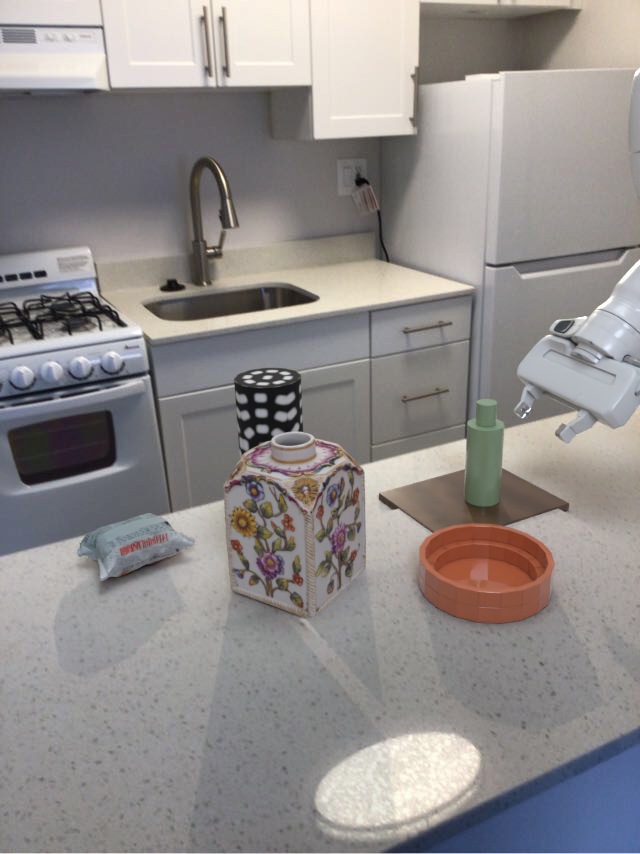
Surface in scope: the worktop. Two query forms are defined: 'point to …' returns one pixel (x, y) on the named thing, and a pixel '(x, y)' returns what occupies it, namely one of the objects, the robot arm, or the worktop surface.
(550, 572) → the bowl
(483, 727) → the worktop surface
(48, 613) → the worktop surface
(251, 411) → the spotted tube
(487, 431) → the bottle
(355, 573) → the decorative jar
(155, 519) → the packaged food
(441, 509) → the board
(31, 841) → the worktop surface
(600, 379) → the robot arm
